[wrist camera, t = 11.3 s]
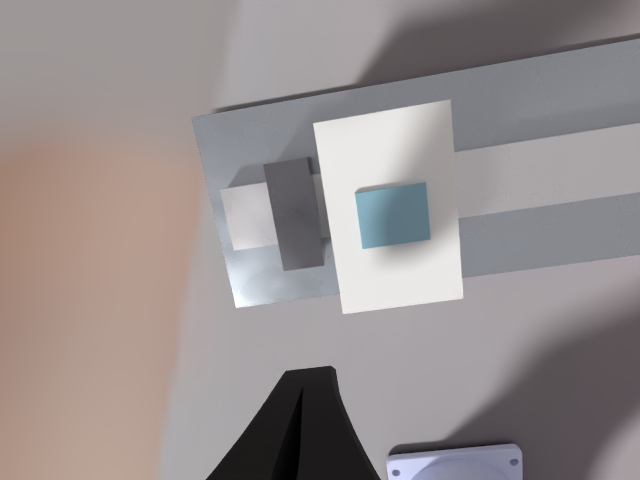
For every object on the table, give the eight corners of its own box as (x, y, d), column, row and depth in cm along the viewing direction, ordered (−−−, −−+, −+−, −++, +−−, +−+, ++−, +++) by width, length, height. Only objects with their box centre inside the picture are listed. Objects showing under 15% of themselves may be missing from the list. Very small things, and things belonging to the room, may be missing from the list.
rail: (739, 239, 17) (835, 258, 14) (237, 305, 19) (218, 336, 15) (773, 16, 14) (900, -24, 11) (193, 118, 16) (159, 109, 13)
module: (426, 258, 17) (465, 300, 12) (340, 270, 18) (343, 316, 13) (413, 116, 16) (452, 98, 11) (319, 133, 16) (312, 122, 11)
